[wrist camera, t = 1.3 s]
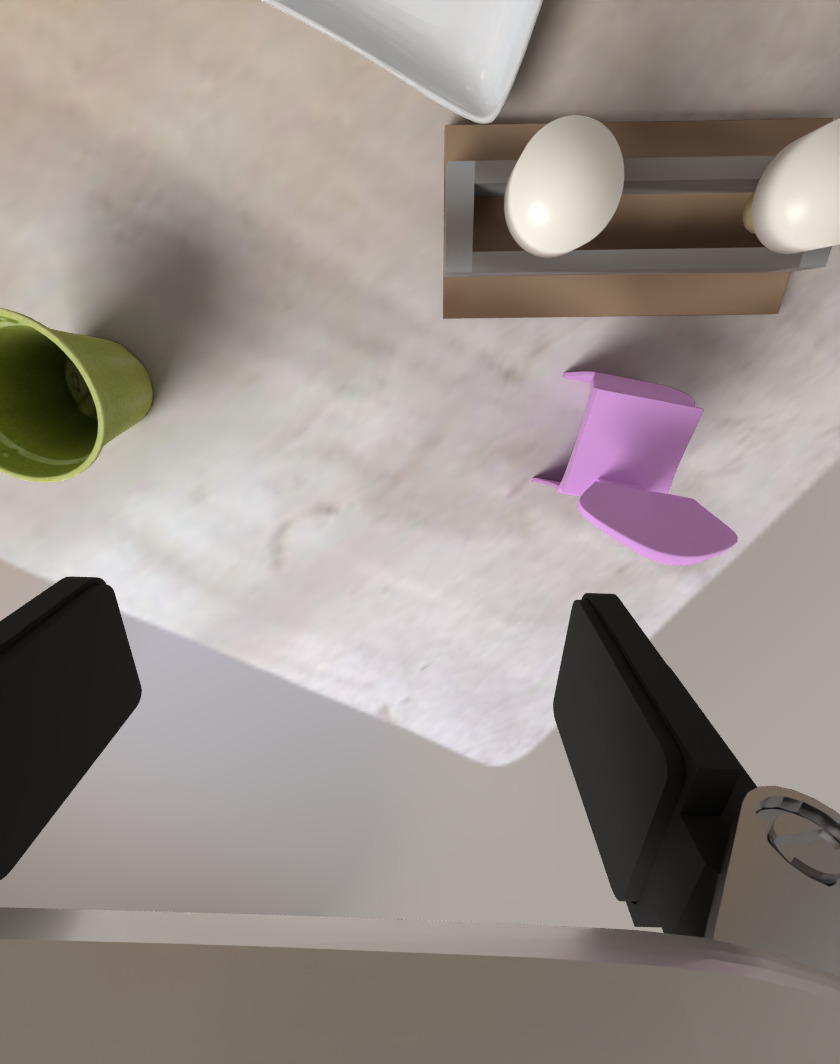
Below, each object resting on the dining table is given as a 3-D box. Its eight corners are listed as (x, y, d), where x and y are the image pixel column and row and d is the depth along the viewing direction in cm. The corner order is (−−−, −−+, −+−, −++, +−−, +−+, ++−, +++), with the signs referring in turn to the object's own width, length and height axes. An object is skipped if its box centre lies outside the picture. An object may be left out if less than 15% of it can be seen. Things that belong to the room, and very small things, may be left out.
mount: (444, 132, 27) (447, 103, 23) (819, 125, 27) (878, 95, 23) (443, 318, 31) (445, 317, 27) (767, 314, 31) (811, 312, 27)
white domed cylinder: (731, 154, 23) (809, 110, 19) (824, 153, 23) (927, 108, 19) (707, 262, 25) (773, 247, 21) (794, 260, 25) (879, 245, 21)
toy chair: (662, 383, 33) (835, 424, 19) (619, 496, 36) (738, 599, 23) (552, 362, 32) (647, 387, 18) (518, 479, 36) (578, 573, 22)
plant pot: (163, 313, 31) (74, 309, 23) (188, 449, 35) (120, 485, 27) (26, 309, 31) (-111, 303, 23) (66, 446, 35) (-38, 481, 27)
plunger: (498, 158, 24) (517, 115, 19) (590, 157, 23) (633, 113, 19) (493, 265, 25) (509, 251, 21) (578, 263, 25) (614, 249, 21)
